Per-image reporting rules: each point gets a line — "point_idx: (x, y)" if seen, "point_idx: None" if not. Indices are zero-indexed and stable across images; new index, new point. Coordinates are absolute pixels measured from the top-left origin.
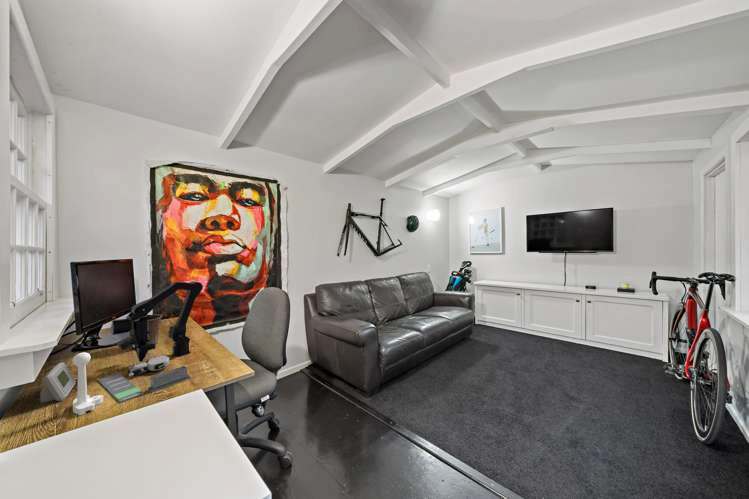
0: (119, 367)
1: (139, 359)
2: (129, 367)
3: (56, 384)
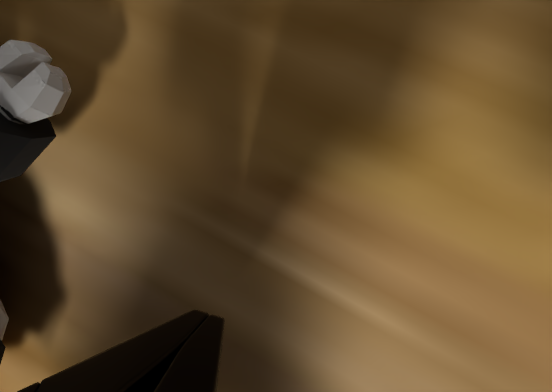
0: (463, 103)
1: (149, 332)
2: (3, 54)
3: None
